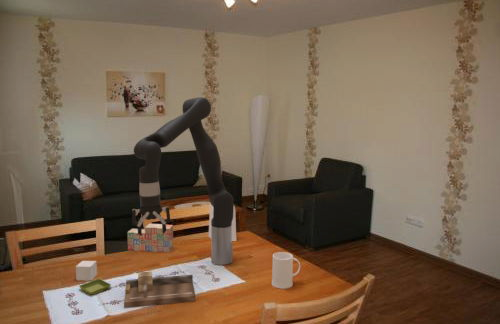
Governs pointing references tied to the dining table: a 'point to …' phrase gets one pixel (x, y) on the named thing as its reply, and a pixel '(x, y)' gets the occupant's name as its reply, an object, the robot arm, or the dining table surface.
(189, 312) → the dining table surface
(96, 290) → the green square dish
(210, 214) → the milk
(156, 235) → the stack of blocks
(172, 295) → the tray
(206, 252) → the dining table surface
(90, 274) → the white cube
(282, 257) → the mug
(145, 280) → the gauge
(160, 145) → the robot arm
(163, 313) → the dining table surface
